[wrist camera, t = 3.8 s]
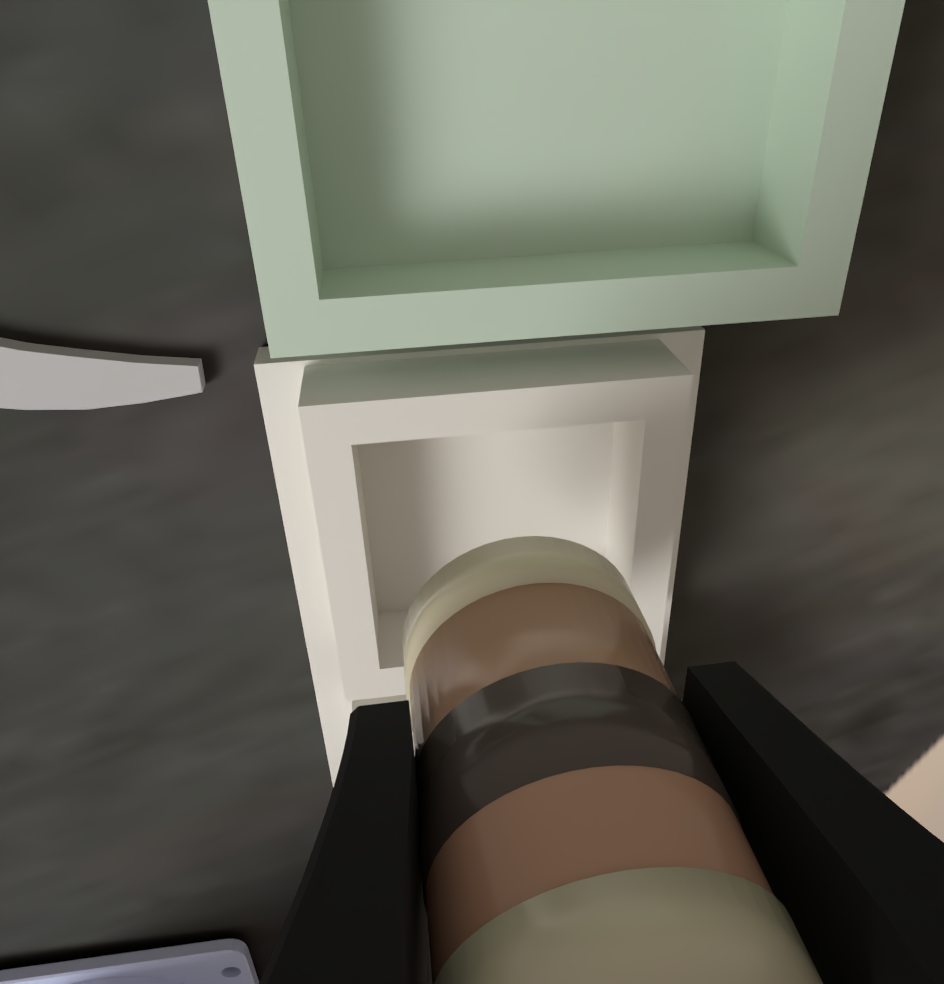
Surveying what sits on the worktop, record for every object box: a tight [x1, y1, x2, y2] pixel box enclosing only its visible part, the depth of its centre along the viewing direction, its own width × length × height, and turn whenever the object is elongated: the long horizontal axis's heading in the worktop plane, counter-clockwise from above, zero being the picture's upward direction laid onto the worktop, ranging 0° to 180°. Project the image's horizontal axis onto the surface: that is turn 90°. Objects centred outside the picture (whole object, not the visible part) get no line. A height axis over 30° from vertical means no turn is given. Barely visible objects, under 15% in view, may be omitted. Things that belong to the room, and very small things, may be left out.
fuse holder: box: [254, 326, 705, 787], centre depth 16 cm, size 13×8×2 cm, turn 2°
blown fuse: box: [402, 536, 823, 984], centre depth 9 cm, size 4×4×6 cm
